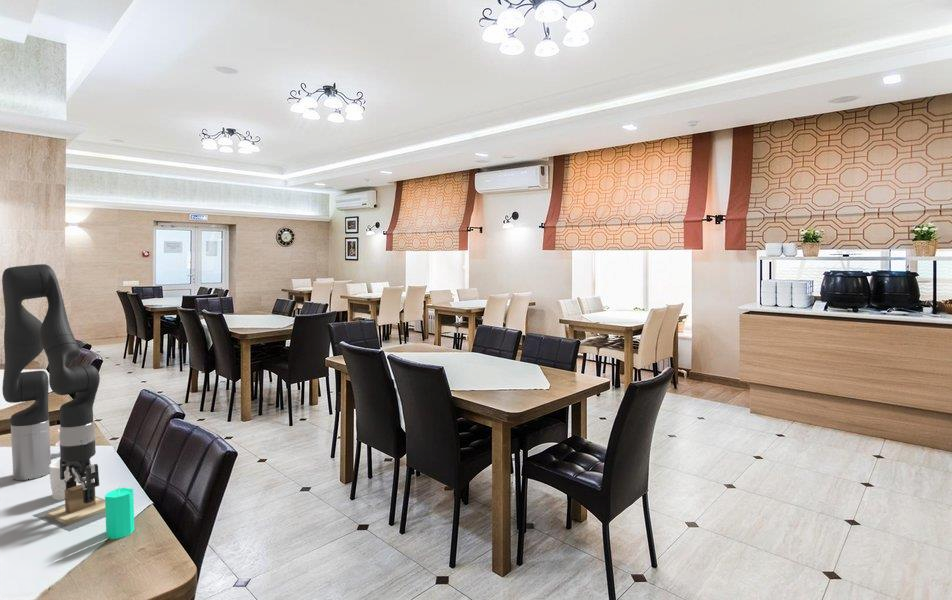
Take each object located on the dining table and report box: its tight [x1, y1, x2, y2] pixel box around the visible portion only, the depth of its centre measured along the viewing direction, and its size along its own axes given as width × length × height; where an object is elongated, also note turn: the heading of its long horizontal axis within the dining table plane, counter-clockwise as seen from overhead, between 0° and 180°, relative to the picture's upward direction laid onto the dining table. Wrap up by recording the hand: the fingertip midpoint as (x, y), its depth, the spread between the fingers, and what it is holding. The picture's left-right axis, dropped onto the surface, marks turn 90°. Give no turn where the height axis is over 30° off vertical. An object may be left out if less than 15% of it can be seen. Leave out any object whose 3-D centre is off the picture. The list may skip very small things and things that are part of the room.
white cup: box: [49, 459, 81, 501], centre depth 150 cm, size 8×8×10 cm
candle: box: [104, 487, 135, 540], centre depth 130 cm, size 6×6×12 cm
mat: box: [32, 495, 106, 532], centre depth 140 cm, size 18×14×1 cm
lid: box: [46, 485, 105, 525], centre depth 139 cm, size 11×11×7 cm
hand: (80, 498), depth 139 cm, fingers open, 8 cm apart
